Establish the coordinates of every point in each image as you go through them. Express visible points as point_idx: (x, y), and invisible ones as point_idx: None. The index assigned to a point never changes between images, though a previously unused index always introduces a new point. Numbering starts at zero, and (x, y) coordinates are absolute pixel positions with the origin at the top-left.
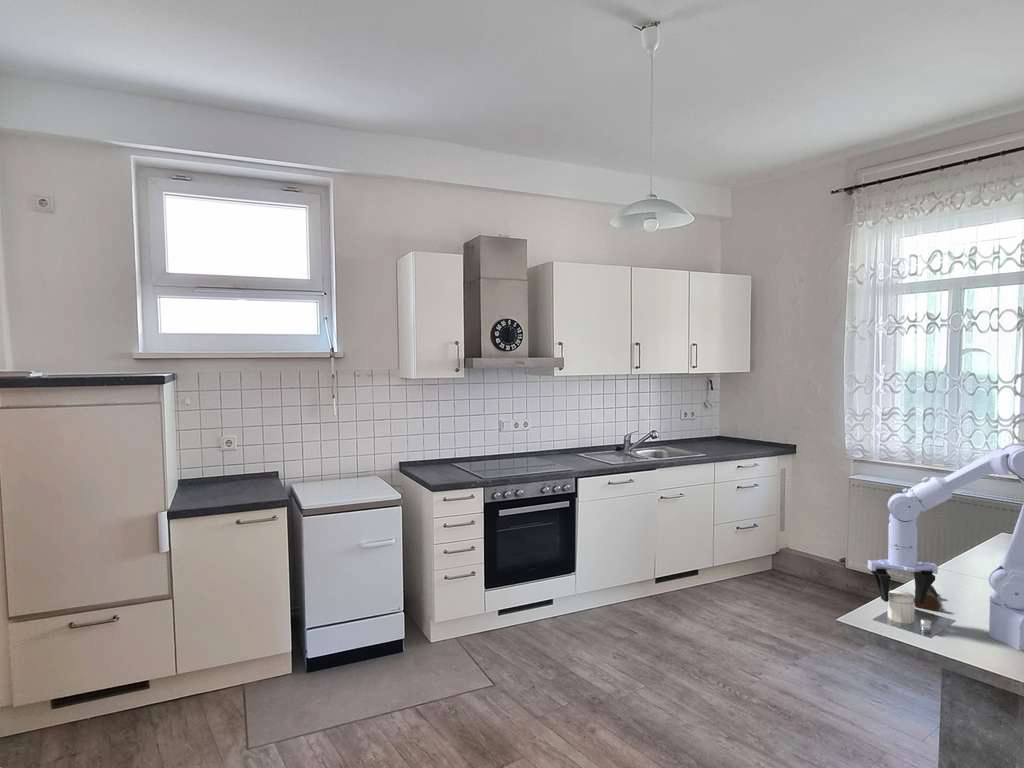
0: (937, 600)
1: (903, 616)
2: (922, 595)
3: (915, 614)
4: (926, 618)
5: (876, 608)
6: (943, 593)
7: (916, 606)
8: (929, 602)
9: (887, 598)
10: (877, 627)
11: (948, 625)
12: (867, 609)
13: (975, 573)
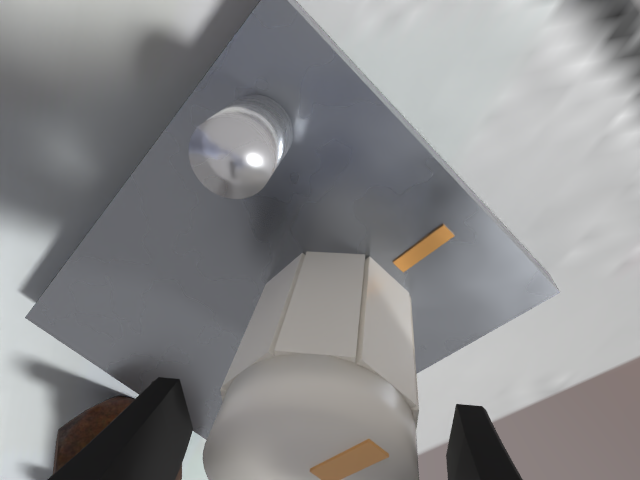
0: (54, 465)
1: (350, 283)
2: (122, 440)
3: (215, 373)
4: (173, 330)
5: None
6: None
7: None
8: None
9: (475, 431)
10: (550, 221)
11: (76, 251)
12: (431, 439)
13: None
